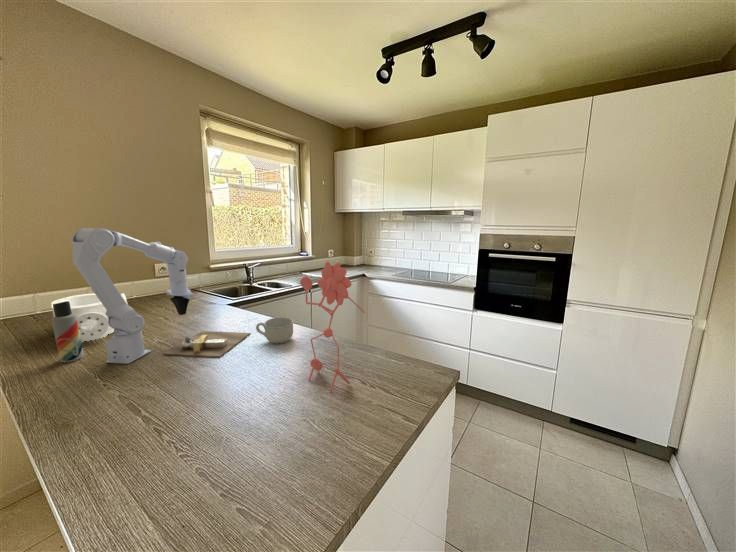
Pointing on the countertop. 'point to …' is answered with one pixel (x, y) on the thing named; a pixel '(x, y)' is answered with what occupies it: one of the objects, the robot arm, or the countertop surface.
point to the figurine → (332, 289)
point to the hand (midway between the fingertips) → (182, 314)
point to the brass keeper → (199, 344)
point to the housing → (89, 315)
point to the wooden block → (204, 343)
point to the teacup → (277, 329)
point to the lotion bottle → (66, 333)
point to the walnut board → (232, 341)
